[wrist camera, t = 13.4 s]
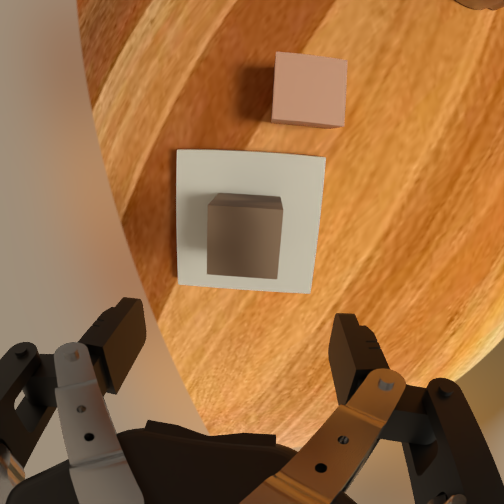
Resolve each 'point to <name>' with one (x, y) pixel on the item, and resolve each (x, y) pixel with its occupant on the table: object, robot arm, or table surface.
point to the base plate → (254, 183)
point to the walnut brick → (244, 235)
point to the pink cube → (309, 90)
